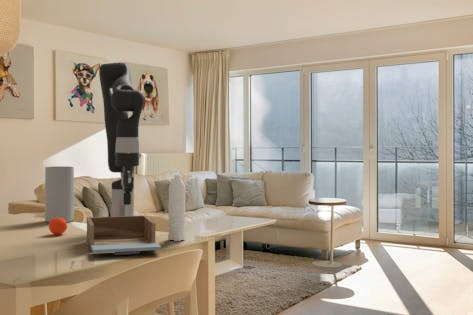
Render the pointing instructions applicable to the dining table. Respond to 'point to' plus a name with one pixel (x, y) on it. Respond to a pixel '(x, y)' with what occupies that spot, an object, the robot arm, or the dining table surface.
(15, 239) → the dining table surface
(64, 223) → the clementine
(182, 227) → the water bottle
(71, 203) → the cylinder vase
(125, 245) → the rectangular panel
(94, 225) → the crate
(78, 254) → the dining table surface
